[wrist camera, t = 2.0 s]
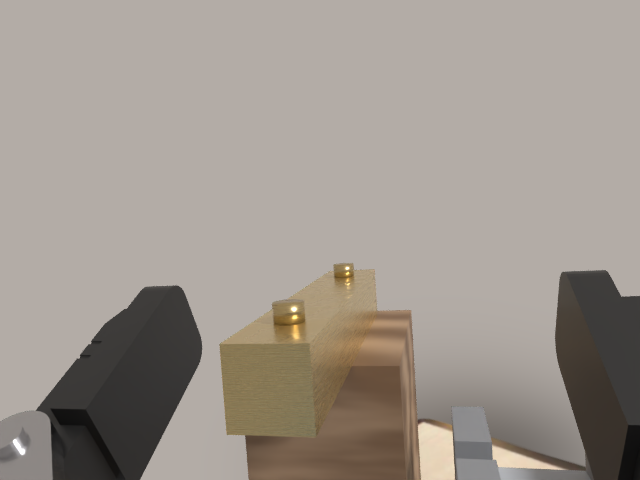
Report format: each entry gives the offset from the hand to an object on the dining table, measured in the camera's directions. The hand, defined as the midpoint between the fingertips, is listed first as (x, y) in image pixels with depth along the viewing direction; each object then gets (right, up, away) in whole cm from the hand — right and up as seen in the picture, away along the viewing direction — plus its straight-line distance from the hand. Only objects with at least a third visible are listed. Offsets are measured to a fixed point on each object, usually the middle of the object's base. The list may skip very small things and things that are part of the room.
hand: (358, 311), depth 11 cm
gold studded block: (0, -6, +23) cm, 23 cm away
